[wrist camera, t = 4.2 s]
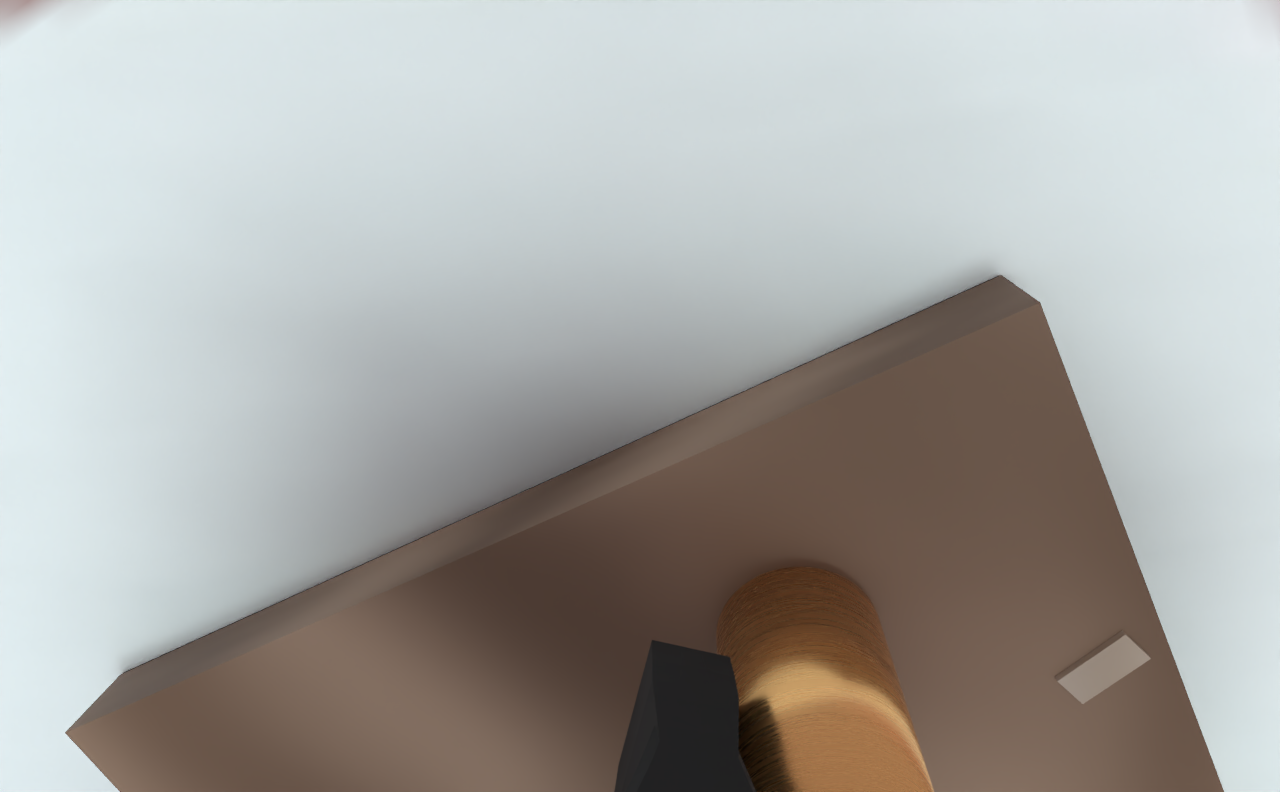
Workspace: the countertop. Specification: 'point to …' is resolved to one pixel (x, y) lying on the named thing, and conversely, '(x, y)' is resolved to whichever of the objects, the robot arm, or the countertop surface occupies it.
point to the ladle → (817, 688)
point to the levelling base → (718, 596)
